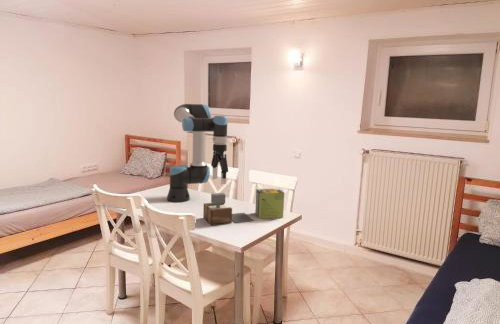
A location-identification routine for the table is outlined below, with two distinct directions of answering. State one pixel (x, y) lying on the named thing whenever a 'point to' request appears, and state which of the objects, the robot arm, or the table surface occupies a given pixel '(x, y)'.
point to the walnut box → (217, 215)
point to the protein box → (269, 203)
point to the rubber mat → (241, 218)
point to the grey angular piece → (217, 200)
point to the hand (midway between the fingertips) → (219, 181)
